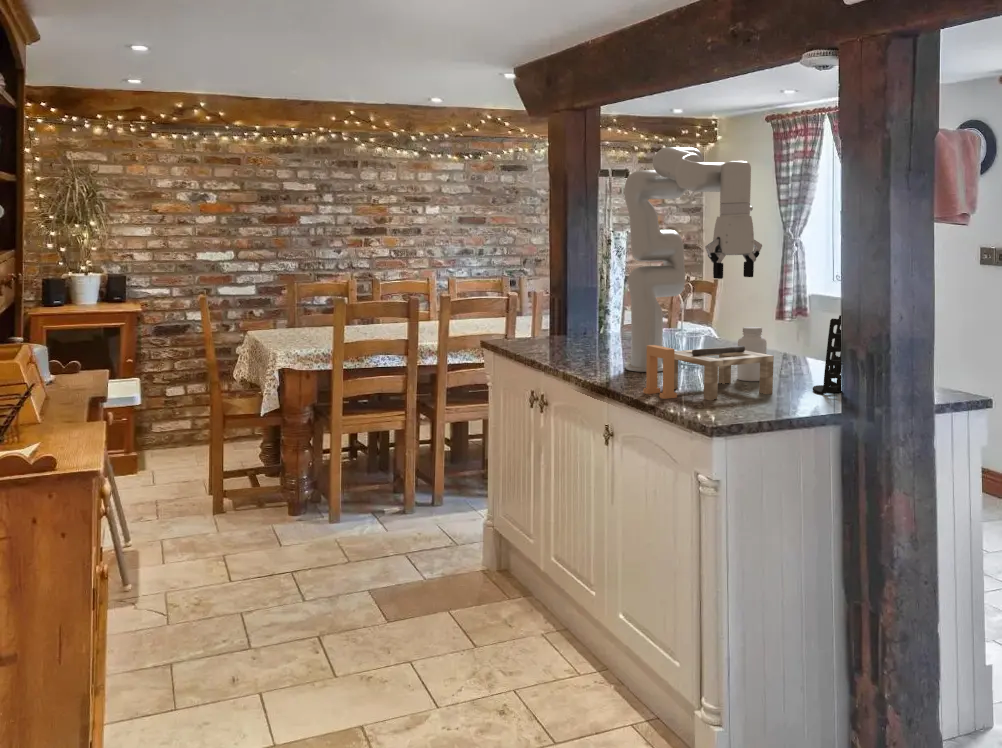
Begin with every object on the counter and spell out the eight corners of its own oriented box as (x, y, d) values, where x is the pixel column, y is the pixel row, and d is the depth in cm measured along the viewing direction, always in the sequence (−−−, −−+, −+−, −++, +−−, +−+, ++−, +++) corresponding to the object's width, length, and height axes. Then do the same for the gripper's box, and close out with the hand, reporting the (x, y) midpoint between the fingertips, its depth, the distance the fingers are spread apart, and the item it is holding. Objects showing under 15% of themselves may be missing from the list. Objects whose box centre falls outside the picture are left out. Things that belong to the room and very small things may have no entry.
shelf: (709, 400, 237) (710, 355, 235) (665, 388, 255) (665, 346, 253) (772, 393, 245) (773, 349, 243) (725, 382, 263) (726, 341, 261)
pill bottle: (744, 376, 272) (745, 325, 269) (770, 378, 267) (771, 326, 264) (732, 380, 266) (733, 327, 263) (758, 382, 261) (760, 329, 258)
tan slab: (663, 398, 240) (664, 350, 238) (643, 392, 249) (643, 345, 247) (676, 397, 241) (677, 348, 239) (656, 391, 250) (656, 344, 248)
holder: (811, 386, 253) (822, 313, 249) (841, 389, 251) (852, 316, 247) (812, 393, 242) (824, 317, 238) (843, 397, 240) (855, 321, 236)
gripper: (752, 210, 245) (750, 275, 248) (698, 211, 238) (697, 278, 241) (771, 210, 239) (769, 277, 241) (716, 210, 232) (715, 279, 234)
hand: (733, 277), depth 241 cm, fingers open, 9 cm apart
